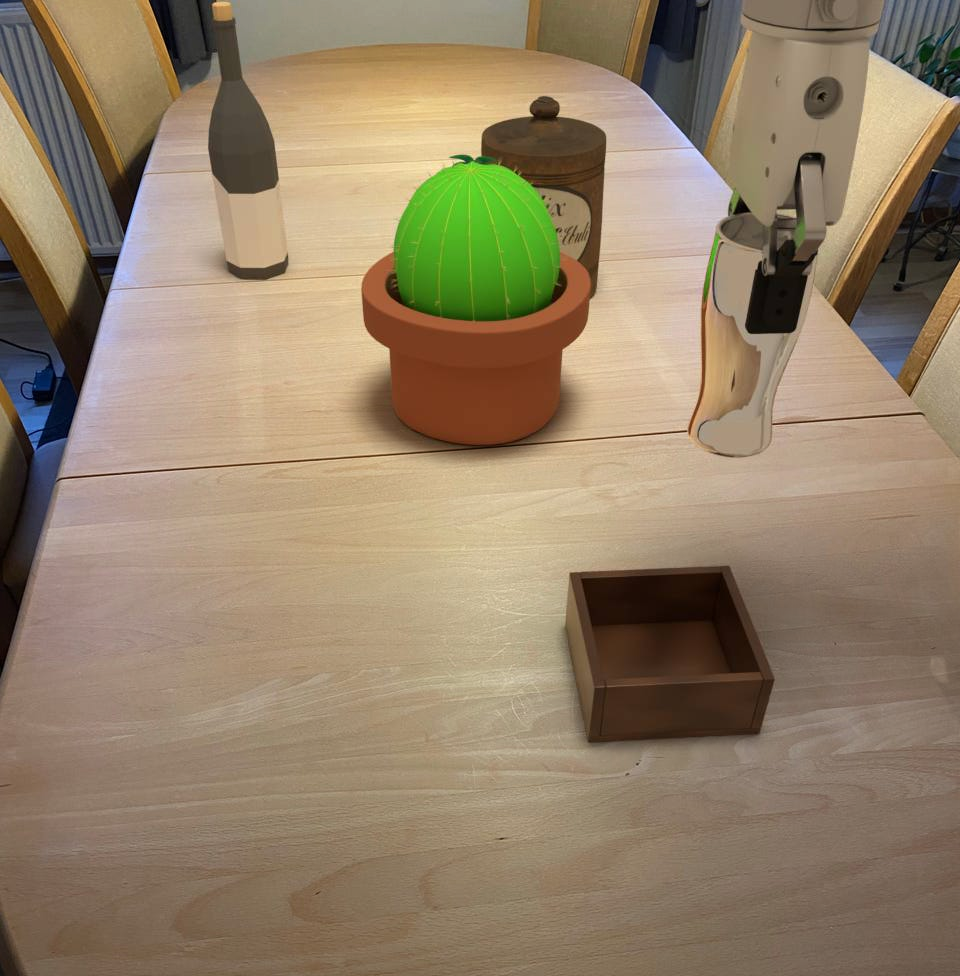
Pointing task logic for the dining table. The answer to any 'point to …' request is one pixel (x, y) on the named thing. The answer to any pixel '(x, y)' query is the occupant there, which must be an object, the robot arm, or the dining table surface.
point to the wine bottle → (244, 166)
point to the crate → (665, 654)
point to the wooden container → (558, 173)
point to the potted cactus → (476, 306)
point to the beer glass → (738, 345)
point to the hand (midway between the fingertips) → (754, 303)
